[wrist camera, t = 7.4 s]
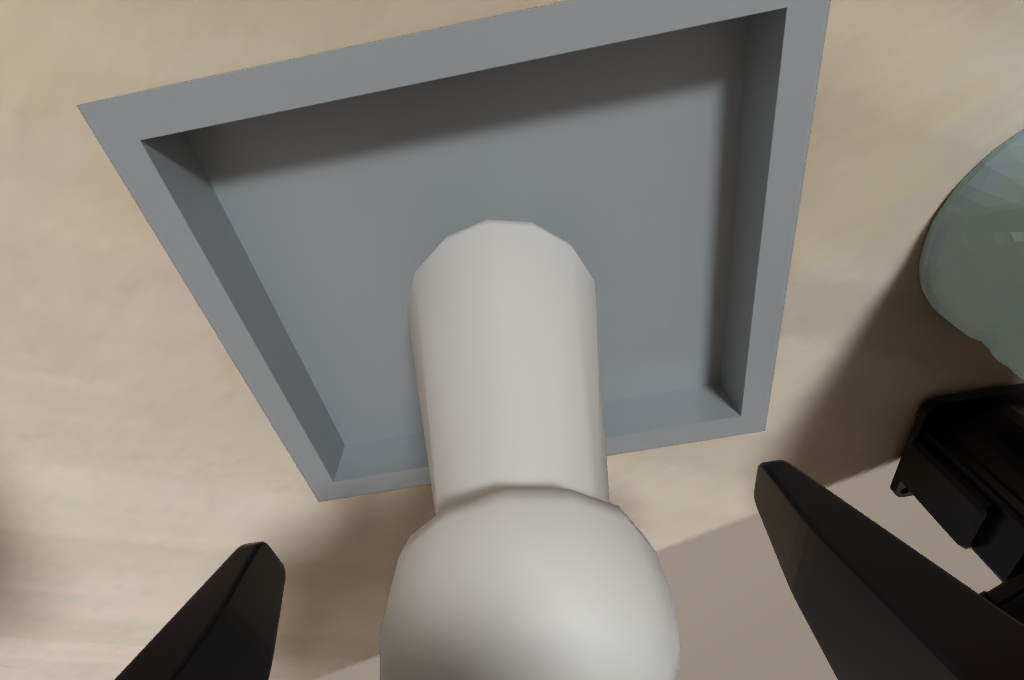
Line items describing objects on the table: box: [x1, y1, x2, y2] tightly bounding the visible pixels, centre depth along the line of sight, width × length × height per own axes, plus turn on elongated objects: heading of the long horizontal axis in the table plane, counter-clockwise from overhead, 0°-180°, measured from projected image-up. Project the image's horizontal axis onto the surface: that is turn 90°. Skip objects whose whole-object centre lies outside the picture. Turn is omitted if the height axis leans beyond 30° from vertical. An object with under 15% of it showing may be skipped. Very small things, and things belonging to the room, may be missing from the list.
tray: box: [77, 0, 831, 502], centre depth 17 cm, size 18×15×3 cm
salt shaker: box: [380, 220, 680, 680], centre depth 12 cm, size 6×6×13 cm
